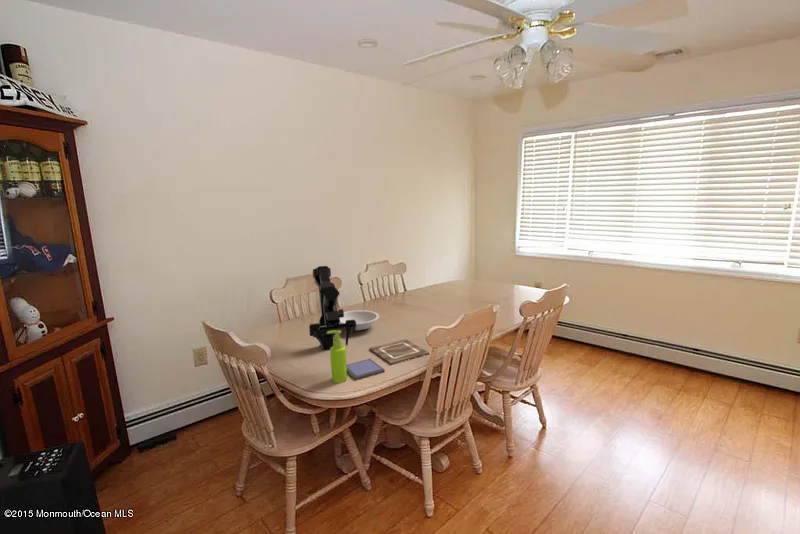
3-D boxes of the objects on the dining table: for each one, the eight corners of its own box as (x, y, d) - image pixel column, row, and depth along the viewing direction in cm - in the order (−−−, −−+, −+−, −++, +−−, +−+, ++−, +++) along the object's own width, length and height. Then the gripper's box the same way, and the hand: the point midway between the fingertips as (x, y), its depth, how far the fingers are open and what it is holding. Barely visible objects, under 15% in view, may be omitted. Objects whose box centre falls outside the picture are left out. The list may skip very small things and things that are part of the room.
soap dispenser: (330, 376, 159) (328, 328, 155) (348, 375, 159) (345, 328, 155) (327, 382, 153) (325, 333, 149) (345, 382, 153) (343, 333, 149)
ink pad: (342, 368, 166) (342, 365, 166) (370, 360, 172) (370, 358, 172) (355, 380, 155) (355, 377, 155) (384, 371, 161) (384, 369, 161)
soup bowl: (343, 320, 228) (343, 309, 227) (384, 322, 223) (383, 311, 222) (327, 334, 205) (327, 322, 204) (372, 337, 200) (372, 325, 199)
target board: (369, 349, 185) (369, 347, 185) (405, 340, 195) (405, 338, 195) (390, 364, 168) (390, 362, 168) (429, 354, 178) (429, 352, 178)
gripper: (307, 304, 157) (311, 340, 148) (354, 300, 162) (360, 335, 153) (307, 318, 166) (311, 353, 157) (352, 313, 171) (357, 347, 162)
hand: (335, 346), depth 157 cm, fingers open, 9 cm apart
